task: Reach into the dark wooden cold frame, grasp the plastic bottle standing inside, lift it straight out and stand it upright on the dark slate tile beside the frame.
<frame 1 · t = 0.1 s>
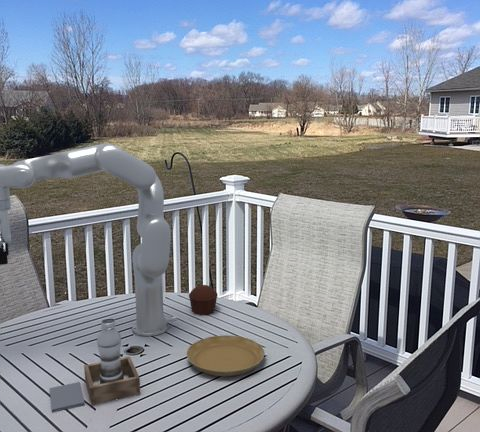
hand: (2, 260, 148), 31 cm above the table, tool pointing down, fingers open, 9 cm apart
muffin: (203, 311, 189), on the table
plastic bottle: (112, 388, 135), resting in cold frame
slate tile: (66, 397, 130), on the table
plant saucer: (225, 361, 150), on the table
cold frame: (112, 387, 135), on the table
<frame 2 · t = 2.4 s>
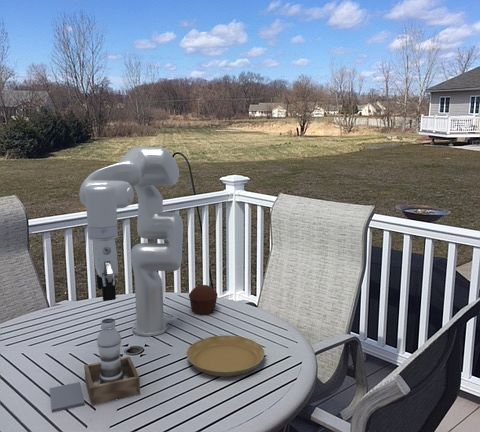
hand: (106, 294, 129), 28 cm above the table, tool pointing down, fingers open, 9 cm apart
nothing on the table moved.
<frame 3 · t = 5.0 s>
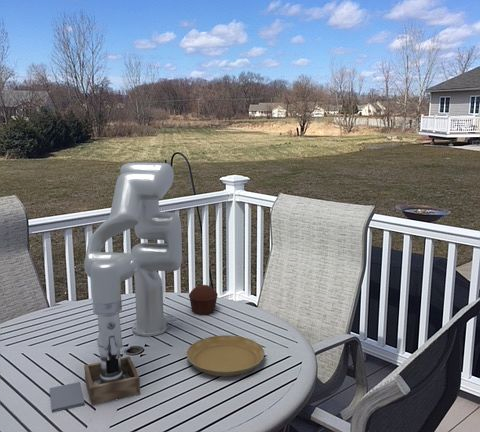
hand: (110, 366, 133), 6 cm above the table, tool pointing down, fingers closed on plastic bottle, 5 cm apart
plastic bottle: (112, 388, 135), resting in cold frame, touching gripper
everything else where it was.
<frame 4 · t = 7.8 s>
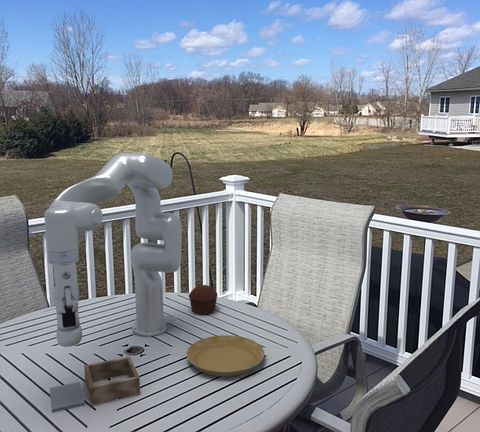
hand: (68, 321, 126), 22 cm above the table, tool pointing down, fingers closed on plastic bottle, 5 cm apart
plastic bottle: (70, 344, 128), point 15 cm above the table, touching gripper
everything else where it was.
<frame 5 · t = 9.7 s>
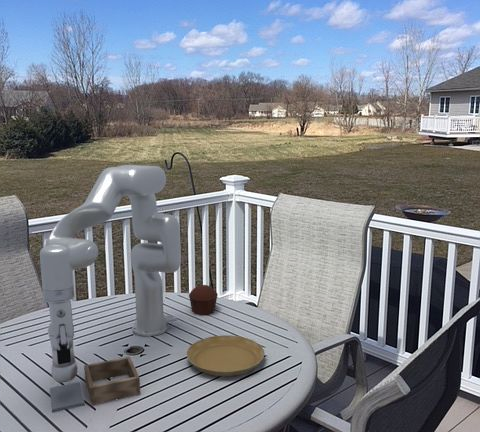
hand: (63, 357, 128), 12 cm above the table, tool pointing down, fingers closed on plastic bottle, 5 cm apart
plastic bottle: (65, 380, 129), point 5 cm above the table, touching gripper
everything else where it was.
when the fingers open (8 cm above the table, at t = 11.0 s): plastic bottle stays where it is, resting on slate tile.
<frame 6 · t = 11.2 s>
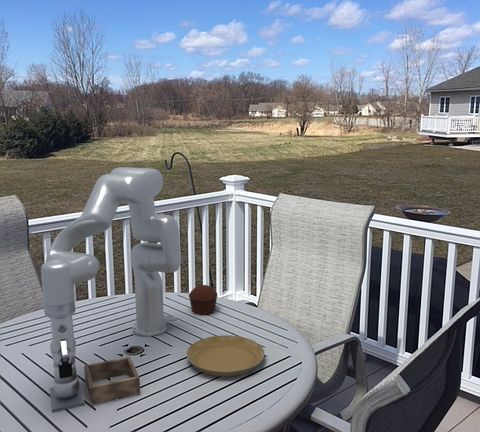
hand: (64, 369, 128), 8 cm above the table, tool pointing down, fingers open, 7 cm apart
plastic bottle: (67, 395, 130), point 1 cm above the table, touching slate tile
everything else where it was.
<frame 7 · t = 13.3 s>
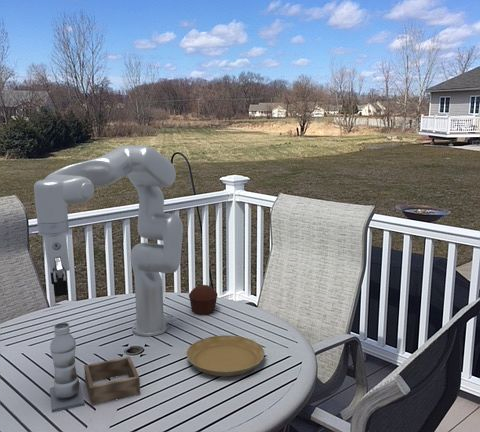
hand: (59, 289, 129), 29 cm above the table, tool pointing down, fingers open, 9 cm apart
nothing on the table moved.
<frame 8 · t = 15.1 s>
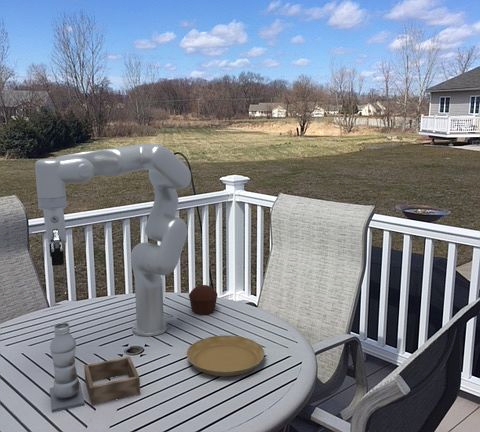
hand: (56, 260, 140), 33 cm above the table, tool pointing down, fingers open, 9 cm apart
nothing on the table moved.
at the end: plastic bottle inside the target area on the slate tile (0.1 cm from its centre), point 0.6 cm above the slate tile's base; plastic bottle tilted 0°; the gripper is holding nothing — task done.
